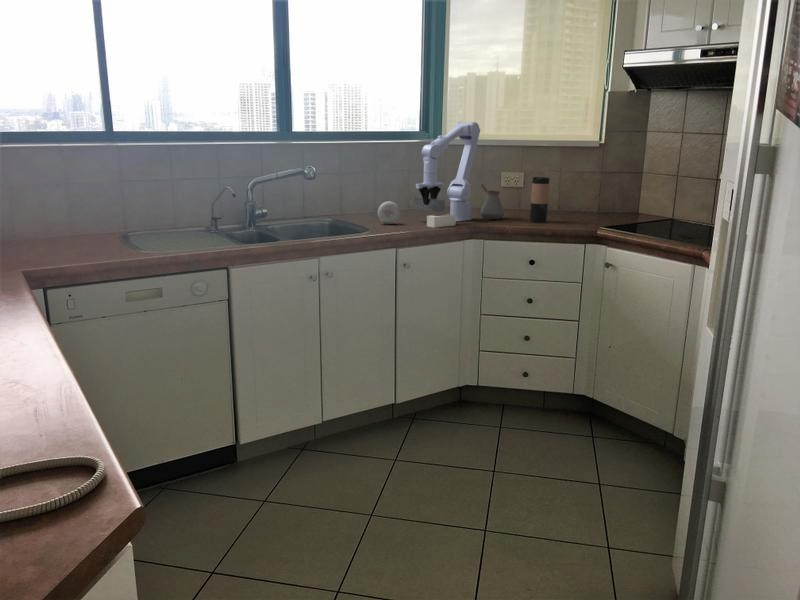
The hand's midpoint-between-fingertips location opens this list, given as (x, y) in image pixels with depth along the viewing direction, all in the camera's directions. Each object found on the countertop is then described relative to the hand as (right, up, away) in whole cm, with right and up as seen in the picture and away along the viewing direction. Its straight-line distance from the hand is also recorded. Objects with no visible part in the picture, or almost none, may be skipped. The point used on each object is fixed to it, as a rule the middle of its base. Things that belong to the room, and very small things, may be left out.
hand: (429, 204), depth 294 cm
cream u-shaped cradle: (+5, -10, -4) cm, 11 cm away
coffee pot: (+29, -3, +26) cm, 39 cm away
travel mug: (+50, -6, +13) cm, 52 cm away
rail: (0, -2, +1) cm, 2 cm away
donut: (-18, -9, -1) cm, 20 cm away
